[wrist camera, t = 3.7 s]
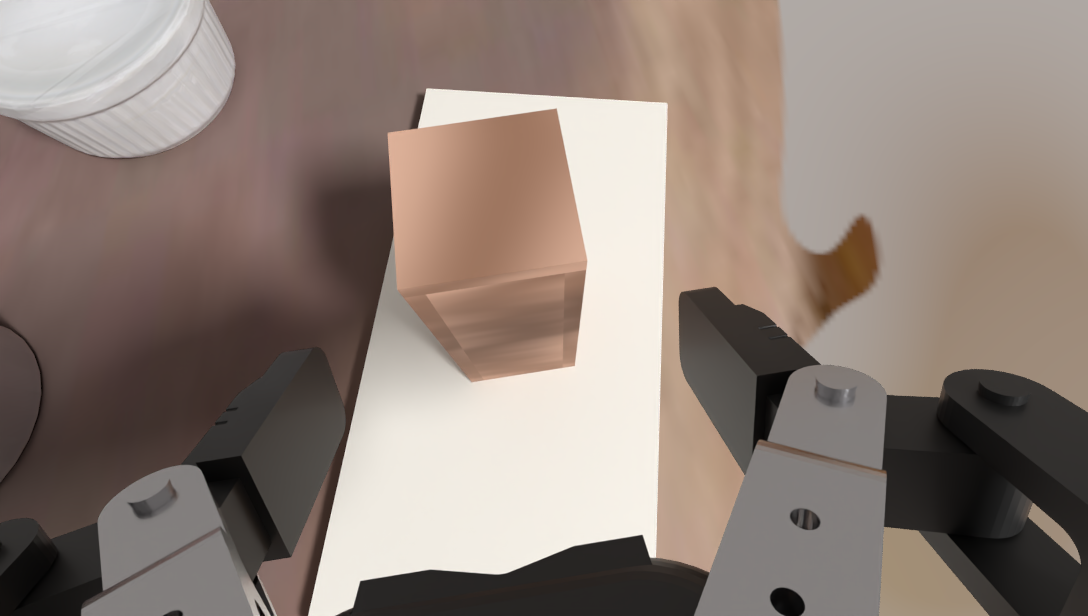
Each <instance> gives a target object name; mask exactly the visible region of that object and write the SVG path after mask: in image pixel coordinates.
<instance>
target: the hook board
mask: <svg viewBox="0 0 1088 616" xmlns="http://www.w3.org/2000/svg"><path fill="white" fill-rule="evenodd" d="M556 108H557V112H558V117H559V122H560V127H561V132H562V137H563V142H564V147H565V152H566V157H567V162H568V167H569V172H570V177H571V182H572V187H573V192H574V196H575V201H576V206H577V211H578V216H579V221H580V226H581V231H582V236H583V241H584V246H585V251H586V256H587V269H586V277H585V285H584V293H583V302H582V310H581V318H580V327H579V335H578V343H577V352H576V360H575V366H572V367H565V368H559V369H553V370H546V371H540V372H534V373H527V374H521V375H515V376H508V377H502V378H496V379H489V380H483V381H477V382H471V381H470V379H469V378H468V377H467V376H466V374H465V373H464V372H463V371H462V370H461V368H460V367H459V366H458V365H457V363H456V362H455V361H454V360H453V358H452V357H451V356H450V355H449V353H448V352H447V351H446V350H445V348H444V347H443V346H442V345H441V344H440V342H439V341H438V340H437V339H436V337H435V336H434V335H433V334H432V332H431V331H430V330H429V329H428V327H427V326H426V325H425V324H424V322H423V321H422V320H421V319H420V318H419V316H418V315H417V314H416V313H415V311H414V310H413V309H412V308H411V306H410V305H409V304H408V303H407V301H406V300H405V299H404V298H403V296H402V295H401V294H400V293H399V291H398V290H397V280H396V263H395V246H394V237H393V241H392V245H391V250H390V254H389V259H388V263H387V268H386V272H385V277H384V281H383V285H382V290H381V294H380V299H379V303H378V308H377V312H376V316H375V321H374V325H373V330H372V334H371V339H370V343H369V348H368V352H367V356H366V361H365V365H364V370H363V374H362V379H361V383H360V388H359V392H358V396H357V401H356V405H355V410H354V414H353V419H352V423H351V428H350V432H349V436H348V441H347V445H346V450H345V454H344V459H343V463H342V468H341V472H340V476H339V481H338V485H337V490H336V494H335V499H334V503H333V507H332V512H331V516H330V521H329V525H328V530H327V534H326V539H325V543H324V547H323V552H322V556H321V561H320V565H319V570H318V574H317V579H316V583H315V587H314V592H313V596H312V601H311V605H310V610H309V614H308V616H336V615H338V614H340V613H342V612H344V611H346V610H348V609H351V608H353V606H354V602H355V599H356V595H357V591H358V587H359V584H360V581H363V580H369V579H375V578H381V577H387V576H393V575H399V574H406V573H412V572H418V571H424V570H430V569H431V570H444V571H457V572H470V573H483V574H505V573H508V572H511V571H514V570H516V569H518V568H521V567H523V566H526V565H528V564H531V563H533V562H536V561H538V560H541V559H543V558H545V557H548V556H550V555H553V554H555V553H558V552H560V551H563V550H565V549H568V548H570V547H573V546H577V545H583V544H589V543H595V542H601V541H607V540H613V539H619V538H626V537H632V536H638V535H643V537H644V541H645V544H646V547H647V550H648V553H649V556H650V558H656V532H657V493H658V454H659V415H660V376H661V337H662V298H663V259H664V220H665V181H666V142H667V103H657V102H641V101H624V100H608V99H591V98H575V97H558V96H542V95H525V94H509V93H492V92H476V91H459V90H443V89H427V90H426V94H425V99H424V103H423V108H422V112H421V117H420V121H419V125H418V128H425V127H432V126H439V125H446V124H453V123H460V122H467V121H473V120H480V119H487V118H494V117H501V116H508V115H515V114H522V113H529V112H535V111H542V110H549V109H556Z"/></svg>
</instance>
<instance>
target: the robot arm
mask: <svg viewBox="0 0 1088 616" xmlns="http://www.w3.org/2000/svg"><path fill="white" fill-rule="evenodd" d="M679 349H680V361H681V367H682V370H683V374H684V376H685V379H686V381H687V382H688V384H689V386H690V387H691V389H692V390H693V392H694V394H695V395H696V397H697V398H698V400H699V402H700V403H701V405H702V407H703V408H704V410H705V411H706V413H707V415H708V416H709V418H710V420H711V421H712V423H713V424H714V426H715V428H716V429H717V431H718V432H719V434H720V436H721V437H722V439H723V441H724V442H725V444H726V445H727V447H728V449H729V450H730V452H731V453H732V455H733V457H734V458H735V460H736V462H737V463H738V465H739V466H740V468H741V470H742V471H743V473H744V475H745V477H744V480H743V483H742V485H741V488H740V491H739V494H738V496H737V499H736V502H735V505H734V507H733V510H732V513H731V516H730V518H729V521H728V524H727V527H726V529H725V532H724V535H723V538H722V540H721V543H720V546H719V549H718V551H717V554H716V557H715V560H714V562H713V565H712V568H711V571H710V573H709V572H707V571H704V570H702V569H700V568H697V567H694V566H691V565H688V564H684V563H681V562H677V561H672V560H666V559H661V558H650V556H649V553H648V550H647V547H646V544H645V541H644V537H643V535H638V536H632V537H626V538H619V539H613V540H607V541H601V542H595V543H589V544H583V545H577V546H573V547H570V548H568V549H565V550H563V551H560V552H558V553H555V554H553V555H550V556H548V557H545V558H543V559H541V560H538V561H536V562H533V563H531V564H528V565H526V566H523V567H521V568H518V569H516V570H514V571H511V572H508V573H505V574H483V573H470V572H457V571H444V570H431V569H430V570H424V571H418V572H412V573H406V574H399V575H393V576H387V577H381V578H375V579H369V580H363V581H360V584H359V587H358V591H357V595H356V599H355V602H354V606H353V608H351V609H348V610H346V611H344V612H342V613H340V614H338V615H336V616H879V605H880V588H881V569H882V552H883V533H884V527H891V528H900V529H909V530H918V531H919V532H920V533H921V535H922V536H923V537H924V538H925V539H926V541H927V542H928V543H929V544H930V545H931V546H932V547H933V549H934V550H935V551H936V552H937V554H938V555H939V556H940V557H941V558H942V559H943V561H944V562H945V563H946V564H947V566H948V567H949V568H950V569H951V570H952V571H953V573H954V574H955V575H956V576H957V577H958V578H959V580H960V581H961V582H962V583H963V585H964V586H965V587H966V588H967V589H968V591H969V592H970V593H971V594H972V595H973V597H974V598H975V599H976V600H977V601H978V602H979V604H980V605H981V606H982V607H983V608H984V610H985V611H986V612H987V613H988V614H989V616H1088V412H1086V411H1085V410H1083V409H1081V408H1080V407H1078V406H1076V405H1075V404H1073V403H1072V402H1070V401H1068V400H1067V399H1065V398H1064V397H1062V396H1060V395H1059V394H1057V393H1055V392H1054V391H1052V390H1050V389H1049V388H1047V387H1045V386H1043V385H1041V384H1039V383H1037V382H1035V381H1032V380H1030V379H1027V378H1024V377H1021V376H1017V375H1014V374H1010V373H1006V372H1000V371H994V370H983V369H971V370H963V371H958V372H954V373H952V374H950V375H949V376H947V377H946V379H945V380H944V383H943V387H942V391H941V395H940V398H938V397H915V396H894V395H886V392H885V389H884V388H883V387H882V386H881V384H880V383H878V382H877V381H876V380H875V379H873V378H871V377H870V376H868V375H866V374H864V373H862V372H859V371H856V370H853V369H850V368H845V367H841V366H834V365H821V364H820V363H819V362H818V361H816V360H815V359H814V358H813V357H812V356H811V355H810V354H809V353H807V352H806V351H805V350H804V349H803V348H802V347H801V346H800V345H799V344H797V343H796V342H795V341H794V340H793V339H792V338H791V337H788V336H787V334H786V333H785V332H784V331H783V330H782V329H781V328H780V327H777V326H776V324H775V323H774V322H773V321H772V320H771V319H770V318H768V317H767V316H766V315H765V314H764V313H762V312H760V311H758V310H755V309H753V308H751V307H748V306H746V305H743V304H741V305H734V304H733V303H732V302H731V301H730V300H729V299H728V298H727V297H726V296H725V295H724V294H723V293H722V292H721V291H720V290H719V289H718V288H716V287H711V288H704V289H698V290H691V291H685V292H681V294H680V296H679ZM40 398H41V380H40V371H39V368H38V365H37V362H36V359H35V356H34V354H33V352H32V351H31V349H30V348H29V347H28V345H27V344H26V342H25V341H24V340H23V339H22V338H21V337H19V336H18V335H17V334H15V333H14V332H13V331H12V330H10V329H8V328H6V327H3V326H0V482H1V481H2V479H3V478H4V477H5V476H6V474H7V473H8V472H9V471H10V469H11V468H12V467H13V466H14V464H15V463H16V461H17V460H18V458H19V456H20V454H21V453H22V451H23V449H24V447H25V445H26V444H27V442H28V440H29V438H30V435H31V432H32V430H33V427H34V424H35V422H36V419H37V416H38V410H39V404H40ZM215 424H216V425H215V426H212V427H211V428H210V430H209V431H208V432H207V433H206V435H205V436H204V437H203V438H202V439H201V441H200V442H199V443H198V444H197V446H196V447H195V448H194V449H193V451H192V452H191V453H190V454H189V456H188V457H187V458H186V459H185V460H184V462H183V463H182V464H181V465H178V466H173V467H169V468H165V469H162V470H159V471H157V472H154V473H152V474H150V475H147V476H145V477H143V478H141V479H139V480H138V481H136V482H134V483H133V484H131V485H129V486H128V487H127V488H125V489H124V490H122V491H121V492H120V493H119V494H117V495H116V496H115V497H114V498H113V499H112V500H111V501H110V502H109V503H108V504H107V505H106V506H105V507H104V509H103V510H102V512H101V513H100V515H99V518H98V523H95V524H92V525H90V526H87V527H84V528H81V529H78V530H76V531H73V532H70V533H67V534H64V535H61V536H59V537H56V538H53V539H50V538H49V537H48V535H47V534H46V533H45V532H44V530H43V529H42V528H41V526H40V525H39V524H38V522H37V521H35V520H34V519H30V518H20V519H14V520H9V521H5V522H2V523H0V616H277V615H276V613H275V611H274V608H273V606H272V604H271V601H270V599H269V597H268V595H267V592H266V590H265V588H264V585H263V583H262V582H261V580H260V578H259V576H258V574H257V572H258V570H259V568H260V566H261V564H262V562H264V561H270V560H276V559H282V558H289V557H291V556H292V554H293V551H294V549H295V547H296V544H297V542H298V540H299V537H300V535H301V533H302V530H303V528H304V526H305V523H306V521H307V519H308V516H309V514H310V512H311V509H312V507H313V505H314V502H315V500H316V498H317V495H318V493H319V491H320V488H321V486H322V483H323V481H324V479H325V476H326V474H327V472H328V469H329V467H330V465H331V462H332V460H333V458H334V455H335V453H336V451H337V448H338V446H339V444H340V441H341V439H342V437H343V434H344V431H345V424H346V417H345V410H344V406H343V403H342V400H341V397H340V394H339V391H338V389H337V386H336V383H335V380H334V378H333V375H332V372H331V369H330V367H329V364H328V361H327V358H326V356H325V354H324V352H323V351H322V350H321V349H320V348H318V347H315V348H309V349H302V350H295V351H289V352H283V353H281V354H280V355H279V356H278V357H277V358H276V360H275V361H274V362H273V364H272V365H271V366H270V367H269V369H268V370H267V371H266V373H265V374H264V375H263V376H262V378H259V379H258V380H256V381H255V382H254V383H252V384H251V385H249V386H248V387H247V388H245V389H244V390H243V391H241V392H240V393H239V394H238V395H237V396H236V397H235V399H234V400H233V401H232V402H231V404H230V405H229V406H228V407H227V409H226V412H223V413H222V415H221V416H220V417H219V418H218V420H217V421H216V422H215ZM1032 503H1035V504H1036V505H1037V506H1038V507H1039V508H1040V509H1041V510H1043V511H1044V512H1045V513H1046V514H1047V515H1048V516H1049V517H1051V518H1052V519H1053V520H1054V521H1055V522H1057V523H1058V524H1059V525H1060V526H1061V527H1062V528H1063V529H1064V530H1065V531H1066V532H1067V533H1068V535H1069V536H1070V537H1071V539H1072V540H1073V542H1074V544H1075V545H1076V547H1077V550H1078V552H1079V555H1080V559H1081V565H1080V564H1079V563H1078V562H1077V561H1076V560H1075V559H1074V558H1073V557H1071V556H1070V555H1069V554H1068V553H1067V552H1066V551H1065V550H1064V549H1063V548H1061V547H1060V546H1059V545H1058V544H1057V543H1056V542H1055V541H1054V540H1053V539H1052V538H1050V537H1049V536H1048V535H1047V534H1046V533H1045V532H1044V531H1043V530H1042V529H1040V528H1039V527H1038V526H1037V525H1036V524H1035V523H1034V522H1033V521H1032V520H1030V519H1029V518H1028V514H1029V512H1030V509H1031V506H1032Z"/></svg>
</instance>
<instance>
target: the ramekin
mask: <svg viewBox="0 0 1088 616" xmlns="http://www.w3.org/2000/svg"><path fill="white" fill-rule="evenodd" d="M234 76H235V61H234V53H233V50H232V46H231V44H230V41H229V39H228V37H227V35H226V33H225V31H224V29H223V27H222V25H221V23H220V21H219V19H218V17H217V15H216V13H215V11H214V9H213V7H212V5H211V3H210V2H209V0H0V114H1V115H4V116H7V117H10V118H14V119H17V120H19V121H21V122H23V123H25V124H27V125H29V126H30V127H32V128H34V129H36V130H38V131H40V132H42V133H44V134H46V135H48V136H50V137H52V138H54V139H56V140H58V141H60V142H62V143H64V144H66V145H68V146H70V147H72V148H74V149H76V150H78V151H81V152H84V153H86V154H90V155H96V156H99V157H109V158H134V157H144V156H150V155H154V154H158V153H161V152H164V151H167V150H170V149H172V148H174V147H176V146H179V145H181V144H183V143H184V142H186V141H188V140H189V139H191V138H193V137H194V136H195V135H197V134H198V133H200V132H201V131H202V130H203V129H204V128H206V127H207V126H208V125H209V124H210V123H211V122H212V121H213V120H214V119H215V118H216V116H217V115H218V114H219V113H220V111H221V110H222V108H223V107H224V105H225V104H226V102H227V100H228V98H229V95H230V93H231V90H232V86H233V81H234Z"/></svg>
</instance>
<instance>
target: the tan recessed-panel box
mask: <svg viewBox="0 0 1088 616" xmlns="http://www.w3.org/2000/svg"><path fill="white" fill-rule="evenodd" d="M388 145H389V162H390V179H391V196H392V213H393V229H394V246H395V263H396V280H397V290H398V291H399V293H400V294H401V295H402V296H403V298H404V299H405V300H406V301H407V303H408V304H409V305H410V306H411V308H412V309H413V310H414V311H415V313H416V314H417V315H418V316H419V318H420V319H421V320H422V321H423V322H424V324H425V325H426V326H427V327H428V329H429V330H430V331H431V332H432V334H433V335H434V336H435V337H436V339H437V340H438V341H439V342H440V344H441V345H442V346H443V347H444V348H445V350H446V351H447V352H448V353H449V355H450V356H451V357H452V358H453V360H454V361H455V362H456V363H457V365H458V366H459V367H460V368H461V370H462V371H463V372H464V373H465V374H466V376H467V377H468V378H469V379H470V381H471V382H477V381H483V380H489V379H496V378H502V377H508V376H515V375H521V374H527V373H534V372H540V371H546V370H553V369H559V368H565V367H572V366H575V360H576V352H577V343H578V335H579V327H580V318H581V310H582V302H583V293H584V285H585V277H586V269H587V256H586V251H585V246H584V241H583V236H582V231H581V226H580V221H579V216H578V211H577V206H576V201H575V196H574V192H573V187H572V182H571V177H570V172H569V167H568V162H567V157H566V152H565V147H564V142H563V137H562V132H561V127H560V122H559V117H558V112H557V108H556V109H549V110H542V111H535V112H529V113H522V114H515V115H508V116H501V117H494V118H487V119H480V120H473V121H467V122H460V123H453V124H446V125H439V126H432V127H425V128H418V129H411V130H405V131H398V132H391V133H388Z"/></svg>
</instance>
